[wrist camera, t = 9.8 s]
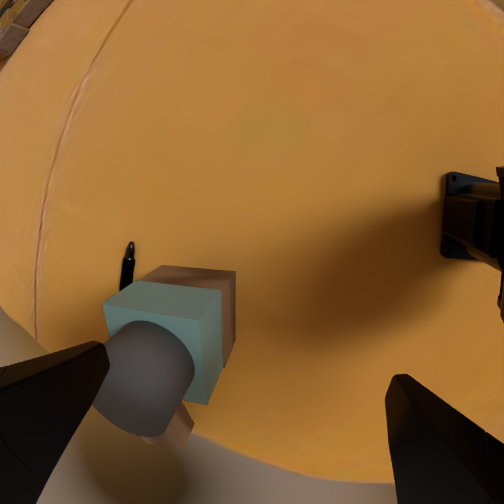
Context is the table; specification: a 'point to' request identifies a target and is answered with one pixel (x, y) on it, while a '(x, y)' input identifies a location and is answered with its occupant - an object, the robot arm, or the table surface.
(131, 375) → the stone
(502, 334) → the table surface
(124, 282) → the pen
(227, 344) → the tower base
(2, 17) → the futuristic tool
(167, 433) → the block
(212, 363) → the tower top
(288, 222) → the table surface
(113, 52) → the table surface
